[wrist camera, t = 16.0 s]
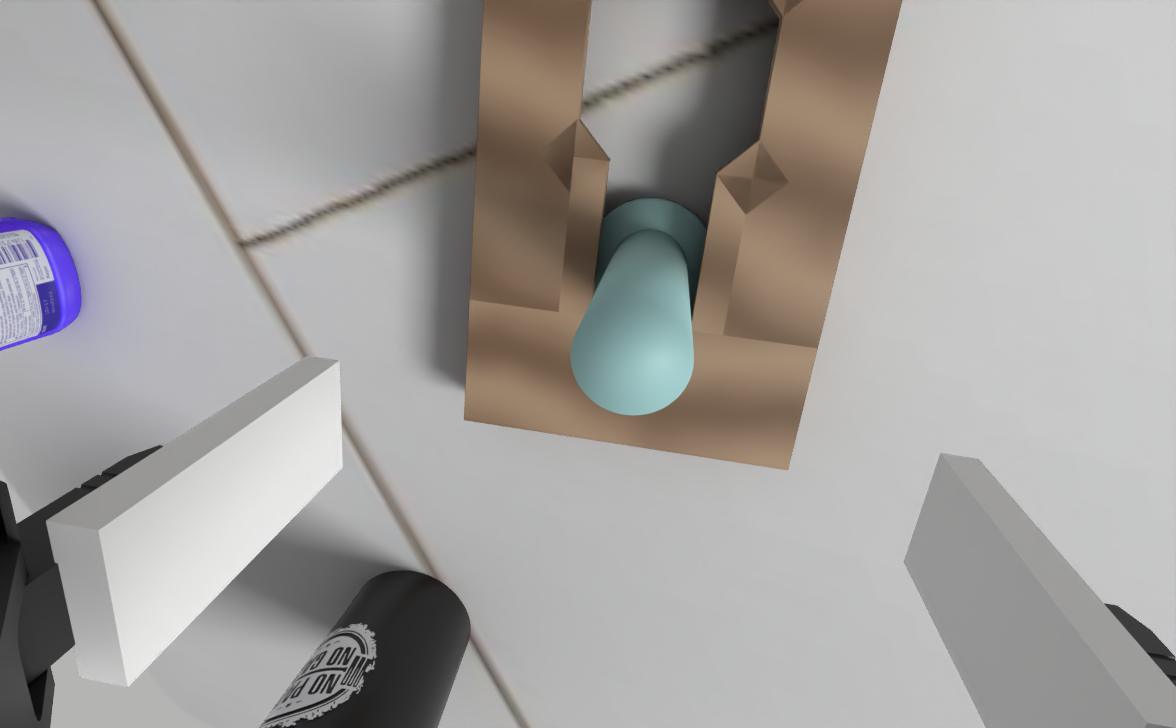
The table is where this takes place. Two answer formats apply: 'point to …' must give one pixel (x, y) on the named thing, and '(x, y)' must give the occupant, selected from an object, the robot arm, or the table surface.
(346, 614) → the water bottle
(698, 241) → the peg
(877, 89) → the keyhole board
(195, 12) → the table surface
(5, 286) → the bottle
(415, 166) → the table surface
